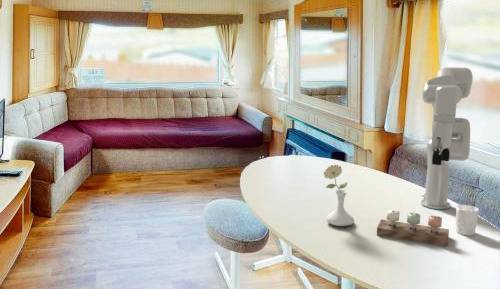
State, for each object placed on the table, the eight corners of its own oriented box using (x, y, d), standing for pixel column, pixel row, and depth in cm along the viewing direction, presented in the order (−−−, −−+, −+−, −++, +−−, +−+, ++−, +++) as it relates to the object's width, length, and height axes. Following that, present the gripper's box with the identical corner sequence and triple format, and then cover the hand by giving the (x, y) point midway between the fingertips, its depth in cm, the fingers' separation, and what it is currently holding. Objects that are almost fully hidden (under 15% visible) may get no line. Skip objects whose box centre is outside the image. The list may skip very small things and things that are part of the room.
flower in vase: (352, 219, 185) (355, 161, 180) (355, 229, 174) (358, 168, 169) (321, 218, 186) (323, 161, 181) (322, 228, 175) (324, 167, 170)
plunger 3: (426, 234, 162) (428, 217, 161) (427, 230, 167) (429, 214, 165) (440, 236, 160) (441, 219, 159) (440, 232, 165) (442, 215, 163)
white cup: (464, 237, 166) (466, 212, 164) (449, 229, 173) (451, 205, 172) (481, 235, 168) (483, 210, 166) (466, 227, 175) (468, 204, 174)
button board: (376, 235, 168) (377, 227, 167) (380, 226, 177) (381, 219, 176) (447, 246, 157) (448, 238, 157) (448, 236, 166) (448, 229, 166)
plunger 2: (405, 231, 166) (406, 214, 164) (407, 227, 170) (408, 211, 168) (418, 233, 164) (419, 216, 162) (419, 229, 168) (420, 212, 166)
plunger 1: (385, 228, 169) (386, 211, 167) (387, 224, 173) (388, 208, 172) (397, 230, 167) (398, 213, 166) (399, 226, 171) (400, 210, 170)
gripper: (441, 116, 175) (437, 158, 178) (426, 119, 163) (422, 164, 165) (461, 117, 171) (457, 160, 174) (447, 121, 158) (443, 167, 161)
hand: (440, 162), depth 170 cm, fingers open, 9 cm apart
